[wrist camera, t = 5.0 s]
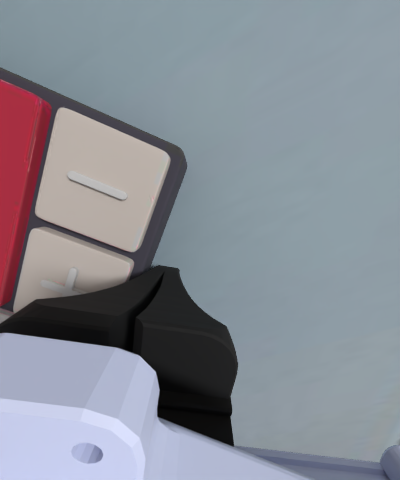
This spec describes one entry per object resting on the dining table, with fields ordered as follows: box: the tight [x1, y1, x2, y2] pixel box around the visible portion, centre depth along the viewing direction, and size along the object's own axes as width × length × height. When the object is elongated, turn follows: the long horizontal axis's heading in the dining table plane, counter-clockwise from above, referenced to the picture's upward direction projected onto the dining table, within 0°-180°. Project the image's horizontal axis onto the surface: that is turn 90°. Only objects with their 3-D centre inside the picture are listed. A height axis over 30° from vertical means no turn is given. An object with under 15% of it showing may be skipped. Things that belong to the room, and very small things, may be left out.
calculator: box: [0, 68, 187, 323], centre depth 11 cm, size 11×4×15 cm
